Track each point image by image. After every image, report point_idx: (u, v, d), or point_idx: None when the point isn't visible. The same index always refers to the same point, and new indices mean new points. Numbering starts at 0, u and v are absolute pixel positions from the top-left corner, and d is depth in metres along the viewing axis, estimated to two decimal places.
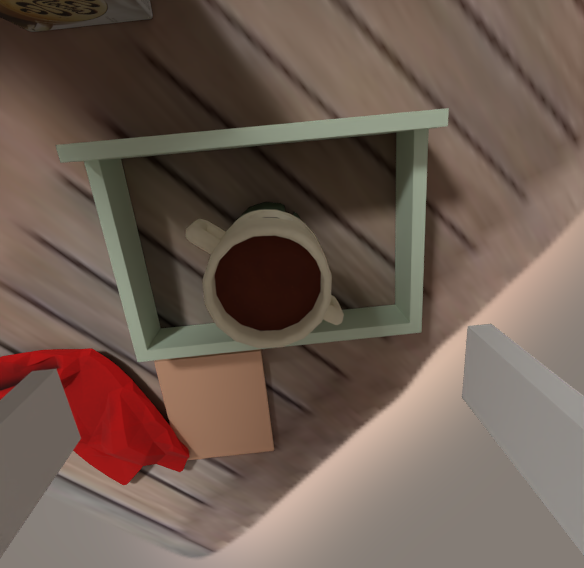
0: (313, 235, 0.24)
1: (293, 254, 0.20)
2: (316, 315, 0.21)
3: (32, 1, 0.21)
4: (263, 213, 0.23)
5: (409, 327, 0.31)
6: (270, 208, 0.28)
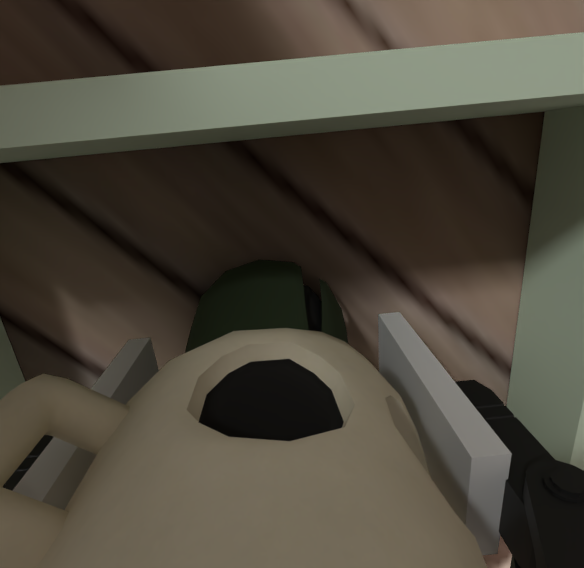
0: (399, 404, 0.08)
1: None
2: None
3: None
4: (246, 352, 0.07)
5: None
6: (270, 282, 0.12)
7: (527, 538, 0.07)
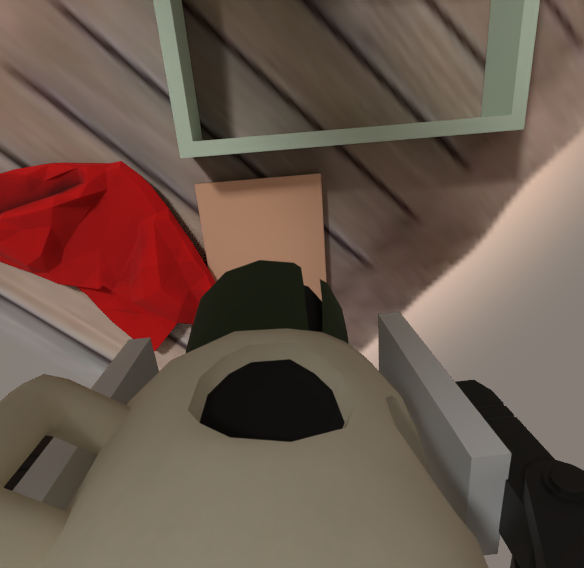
0: (400, 404, 0.08)
1: None
2: None
3: None
4: (247, 353, 0.07)
5: (510, 121, 0.26)
6: (271, 283, 0.12)
7: (527, 538, 0.07)
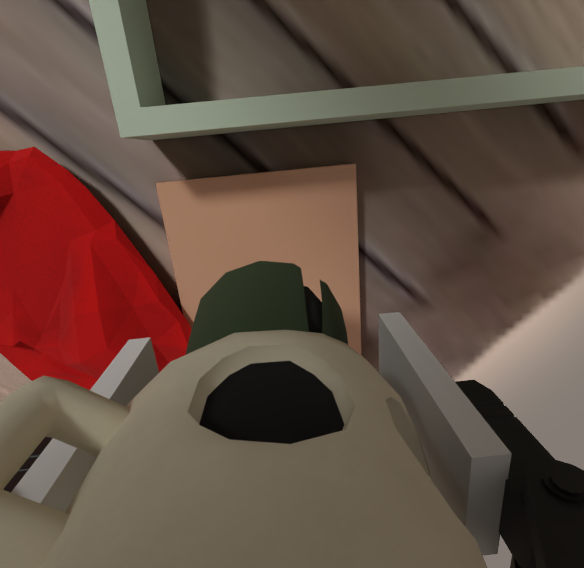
0: (400, 406, 0.08)
1: None
2: None
3: None
4: (247, 354, 0.07)
5: None
6: (271, 284, 0.12)
7: (527, 538, 0.07)
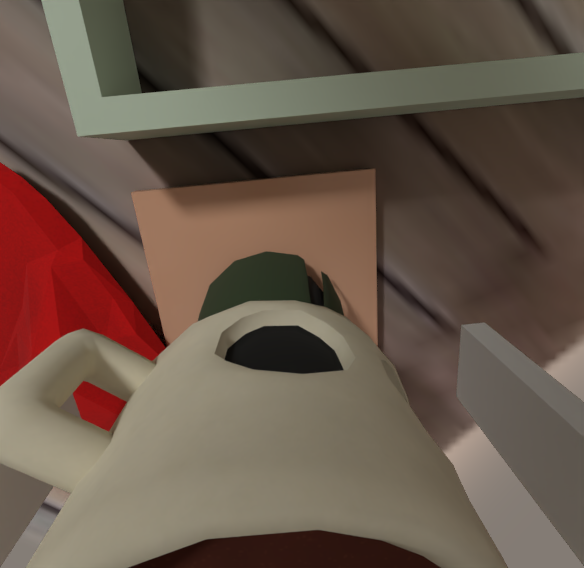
0: (392, 371, 0.09)
1: None
2: None
3: None
4: (261, 317, 0.08)
5: None
6: (277, 270, 0.14)
7: None
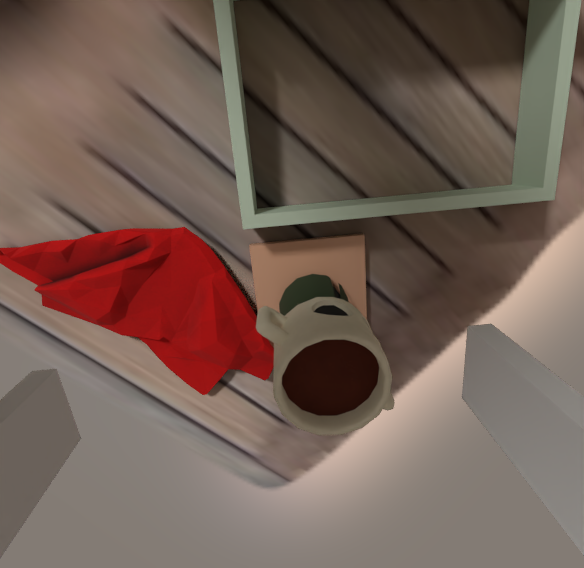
0: (366, 322, 0.26)
1: (355, 351, 0.22)
2: (374, 408, 0.22)
3: None
4: (322, 302, 0.25)
5: (542, 193, 0.28)
6: (319, 283, 0.30)
7: None
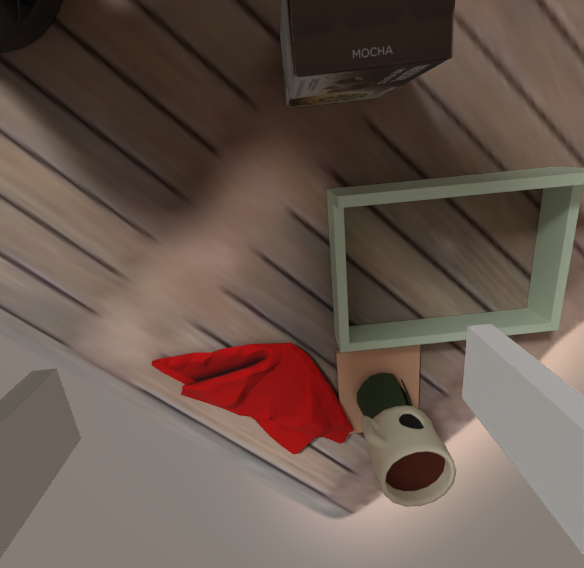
0: (431, 423, 0.38)
1: (431, 453, 0.34)
2: (443, 489, 0.34)
3: (331, 98, 0.30)
4: (402, 412, 0.37)
5: (549, 326, 0.40)
6: (390, 384, 0.42)
7: None
